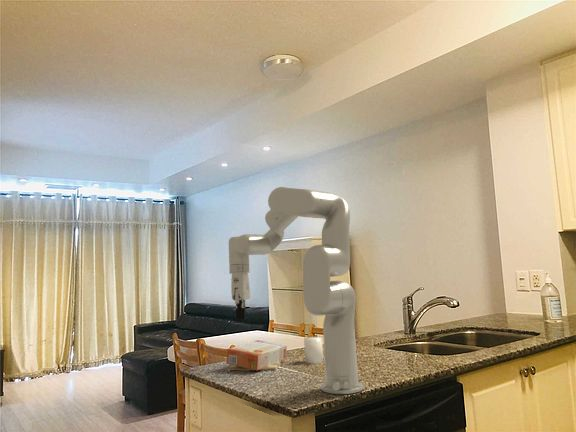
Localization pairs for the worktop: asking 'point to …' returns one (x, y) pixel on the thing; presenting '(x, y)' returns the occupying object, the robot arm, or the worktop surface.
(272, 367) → the cork board
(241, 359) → the cracker box
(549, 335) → the worktop surface
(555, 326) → the worktop surface
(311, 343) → the white rounded block
